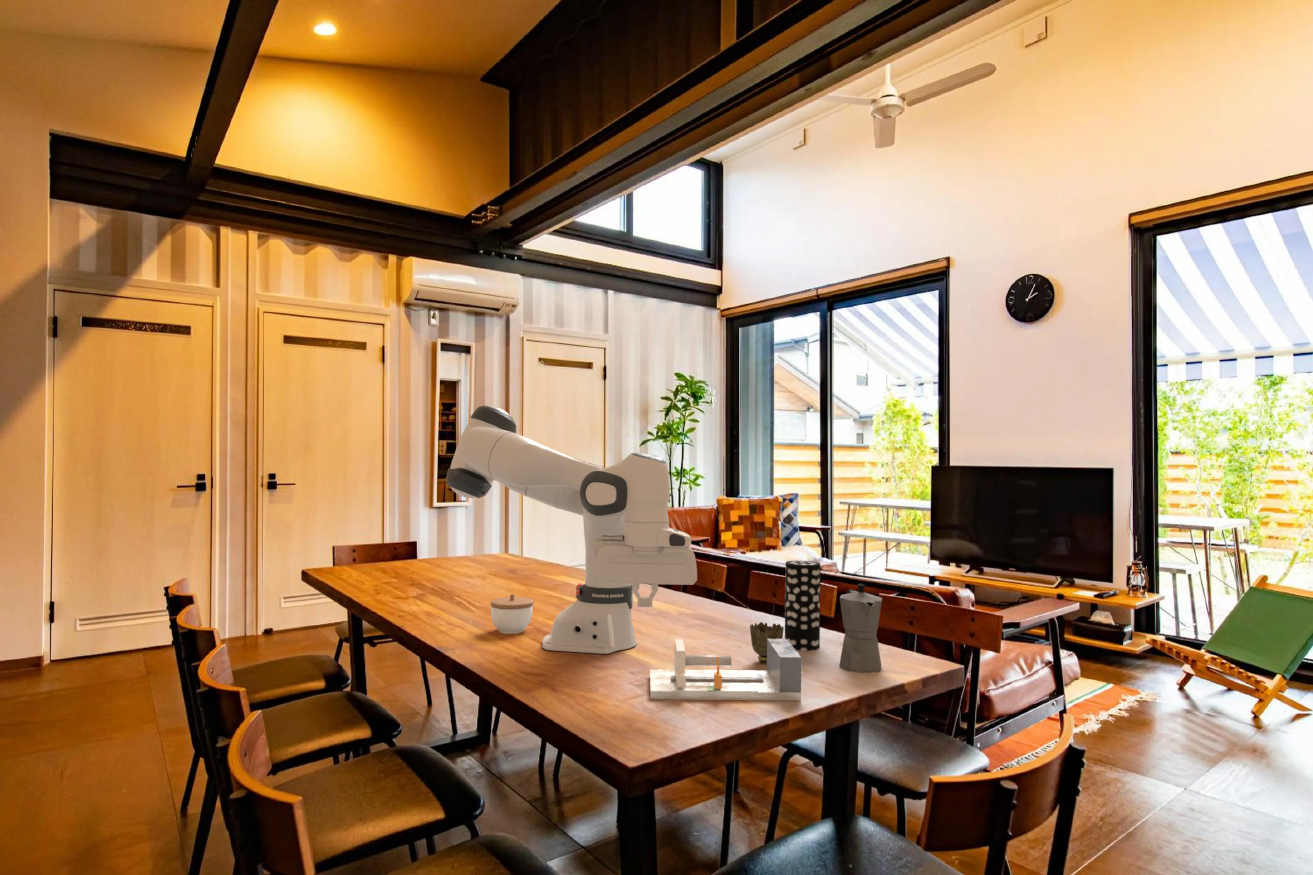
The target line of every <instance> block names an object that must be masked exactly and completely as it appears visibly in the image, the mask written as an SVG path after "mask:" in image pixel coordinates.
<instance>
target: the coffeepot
mask: <svg viewBox="0 0 1313 875" xmlns="http://www.w3.org/2000/svg"><path fill="white" fill-rule="evenodd" d="M856 586H857V590H858V591H856V590H854V589H852V588H849V589H848V590H847V592H846V593H845V594H843V593H842V594H841V595H840V597H839V603H840V610H841V616H842V617H841V618H842V626H843V628H844V636H843V641H842V642H843V643H842V648H841V653H840V659H839V667H841V668H842V669H844V670H847V671H850V672H854V673H862V674H863V673H865V674H866V673H867V674H869V673H877V672H879V671H881V670H882V661H881V654H880V648H879V643H878V642H879V641H878V637H877V633H878V632H877V631H878V628H879V621H880V616H881V609H882V602H883V597H881V596H876V595H874V594H872V593H871V594H870V593H867V592H864V591H865V586H866V585H865V584H863V583H858V584H857V585H856Z"/></svg>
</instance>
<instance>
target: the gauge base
mask: <svg viewBox="0 0 1313 875" xmlns="http://www.w3.org/2000/svg"><path fill="white" fill-rule="evenodd" d="M714 672H717V669H685V674H686V687H677V683H676V677H675V670H674V669H661V668H660V669H654V668H652V669H650V668H649V689H650V690H649V691H650V693H649V695H650V700H673V701H674V700H676V701H679V700H685V701H686V700H688V701H691V700H692V701H699V700H700V701H701V700H702V701H704V700H705V701H786V702H787V701H788V702H790V701H791V702H792V701H794V702H797V701H799V702H800V701H802V656H801V655H800V654H799V653H798V650H795V649H794V648H793V646H792V645H791V644H790V643H789V641H788V640H787V639H785V638H782V639H767V663H766V670H748V669H747V670H746V669H745V670H744V669H743V670H742V669H740V670H739V669H738V670H736V669H735V670H734V669H732V670H731V669H719V672H721V675H722V689H715V686H714Z"/></svg>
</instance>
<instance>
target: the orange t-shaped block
mask: <svg viewBox="0 0 1313 875" xmlns="http://www.w3.org/2000/svg"><path fill="white" fill-rule="evenodd" d="M716 670H717V672H714V686H715V689H722V675H721V672H719V670H720V666H719V656H717V666H716Z"/></svg>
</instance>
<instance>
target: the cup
mask: <svg viewBox="0 0 1313 875" xmlns="http://www.w3.org/2000/svg"><path fill="white" fill-rule="evenodd" d="M749 630H750V639H751V640H750V641H751V646H752V650H753V651H754V652H755V654H756V655H758V656H757V659H758V661H759V662H760V663H762V664H767V639H784V631H785V626H784V625H781V624H780V623H778V624H776V623H772V626H771V625H768V623H767V622H765V623H764V622H762V621H760V622H759V623H758V624H757V622H755V623H754V624H753V623H751V624H750V625H749Z"/></svg>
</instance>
